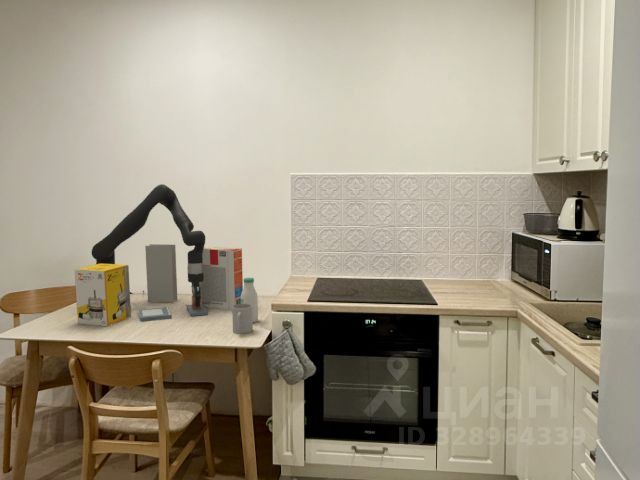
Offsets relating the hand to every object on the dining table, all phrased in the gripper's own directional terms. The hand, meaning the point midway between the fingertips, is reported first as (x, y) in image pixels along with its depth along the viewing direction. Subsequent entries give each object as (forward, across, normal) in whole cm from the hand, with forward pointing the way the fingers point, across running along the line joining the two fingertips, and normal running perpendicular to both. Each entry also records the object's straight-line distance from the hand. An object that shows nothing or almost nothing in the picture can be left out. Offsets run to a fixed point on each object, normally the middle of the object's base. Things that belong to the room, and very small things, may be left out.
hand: (196, 304), depth 253 cm
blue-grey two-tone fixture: (+3, 0, 0) cm, 3 cm away
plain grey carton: (+4, -30, -14) cm, 33 cm away
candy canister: (+4, +26, +20) cm, 33 cm away
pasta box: (+4, -6, +12) cm, 14 cm away
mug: (+4, +41, +13) cm, 43 cm away
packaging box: (+4, -1, -42) cm, 42 cm away
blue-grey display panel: (+3, 0, -20) cm, 20 cm away
